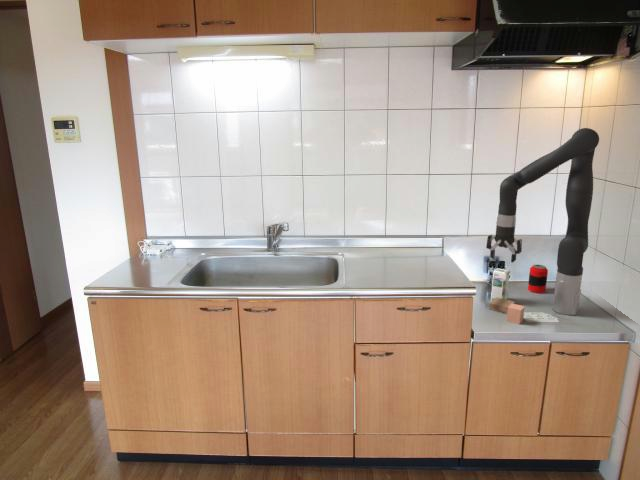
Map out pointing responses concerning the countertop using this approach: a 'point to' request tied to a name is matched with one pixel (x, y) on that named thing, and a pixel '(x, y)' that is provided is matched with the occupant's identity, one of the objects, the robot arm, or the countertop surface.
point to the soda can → (537, 279)
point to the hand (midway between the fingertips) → (502, 260)
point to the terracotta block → (515, 313)
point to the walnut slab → (500, 305)
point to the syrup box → (500, 283)
